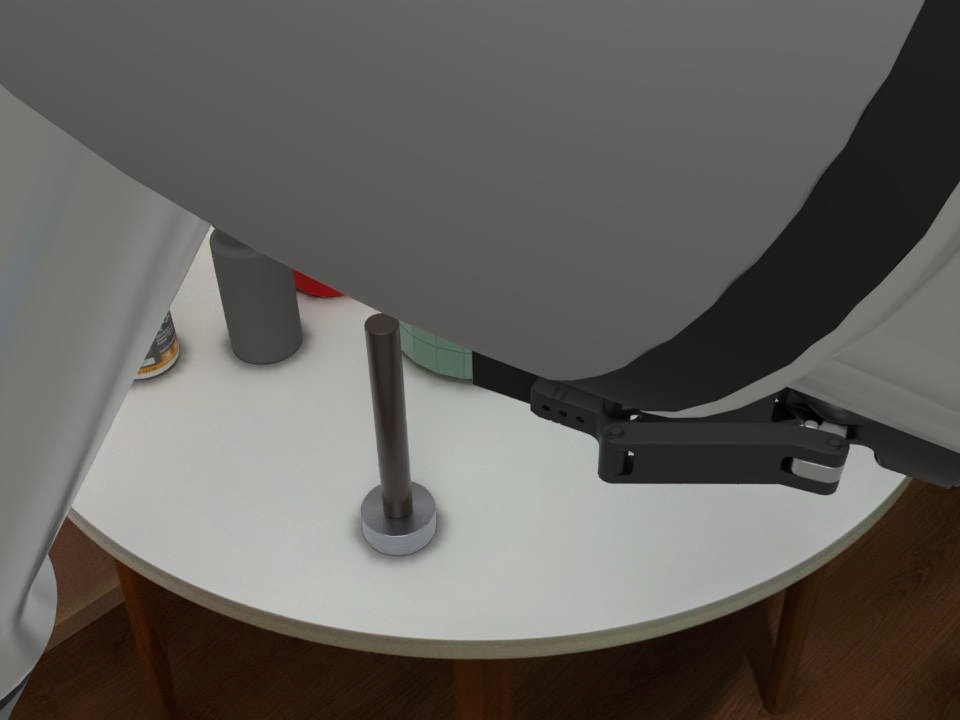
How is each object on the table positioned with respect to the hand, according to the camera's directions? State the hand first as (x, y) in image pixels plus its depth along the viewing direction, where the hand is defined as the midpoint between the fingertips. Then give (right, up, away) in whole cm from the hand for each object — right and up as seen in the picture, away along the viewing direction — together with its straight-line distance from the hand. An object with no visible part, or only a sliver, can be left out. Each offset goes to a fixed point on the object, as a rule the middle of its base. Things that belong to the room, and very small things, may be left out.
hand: (538, 276), depth 52 cm
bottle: (-20, -3, +35) cm, 40 cm away
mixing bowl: (-3, -1, +36) cm, 36 cm away
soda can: (-16, +4, +42) cm, 45 cm away
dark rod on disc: (-8, -16, +20) cm, 26 cm away
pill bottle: (-30, -4, +33) cm, 45 cm away
